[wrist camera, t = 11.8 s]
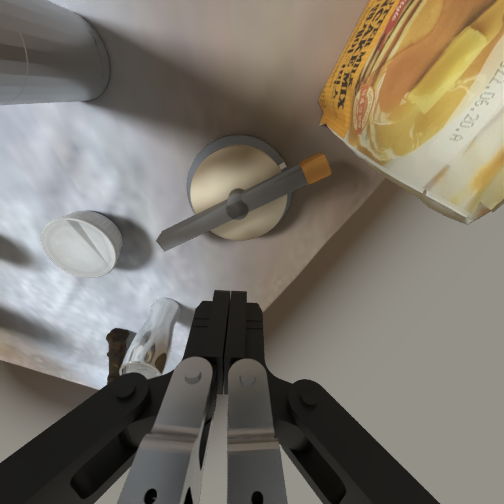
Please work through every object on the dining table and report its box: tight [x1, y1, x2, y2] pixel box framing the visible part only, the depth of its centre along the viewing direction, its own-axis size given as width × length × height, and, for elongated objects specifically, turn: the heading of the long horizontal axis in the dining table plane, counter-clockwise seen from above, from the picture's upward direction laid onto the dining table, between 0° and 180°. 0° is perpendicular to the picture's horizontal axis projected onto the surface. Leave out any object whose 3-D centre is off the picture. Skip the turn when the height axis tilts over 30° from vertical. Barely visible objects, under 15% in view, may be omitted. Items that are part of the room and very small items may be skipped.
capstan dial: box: [156, 145, 332, 252], centre depth 37 cm, size 14×25×6 cm, turn 117°
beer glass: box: [119, 298, 181, 379], centre depth 48 cm, size 7×7×15 cm
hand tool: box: [106, 328, 129, 384], centre depth 60 cm, size 19×4×5 cm, turn 161°
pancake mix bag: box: [318, 0, 504, 225], centre depth 21 cm, size 7×19×28 cm, turn 155°
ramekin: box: [41, 211, 123, 278], centre depth 43 cm, size 11×11×5 cm
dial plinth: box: [187, 135, 292, 229], centre depth 40 cm, size 16×16×2 cm
